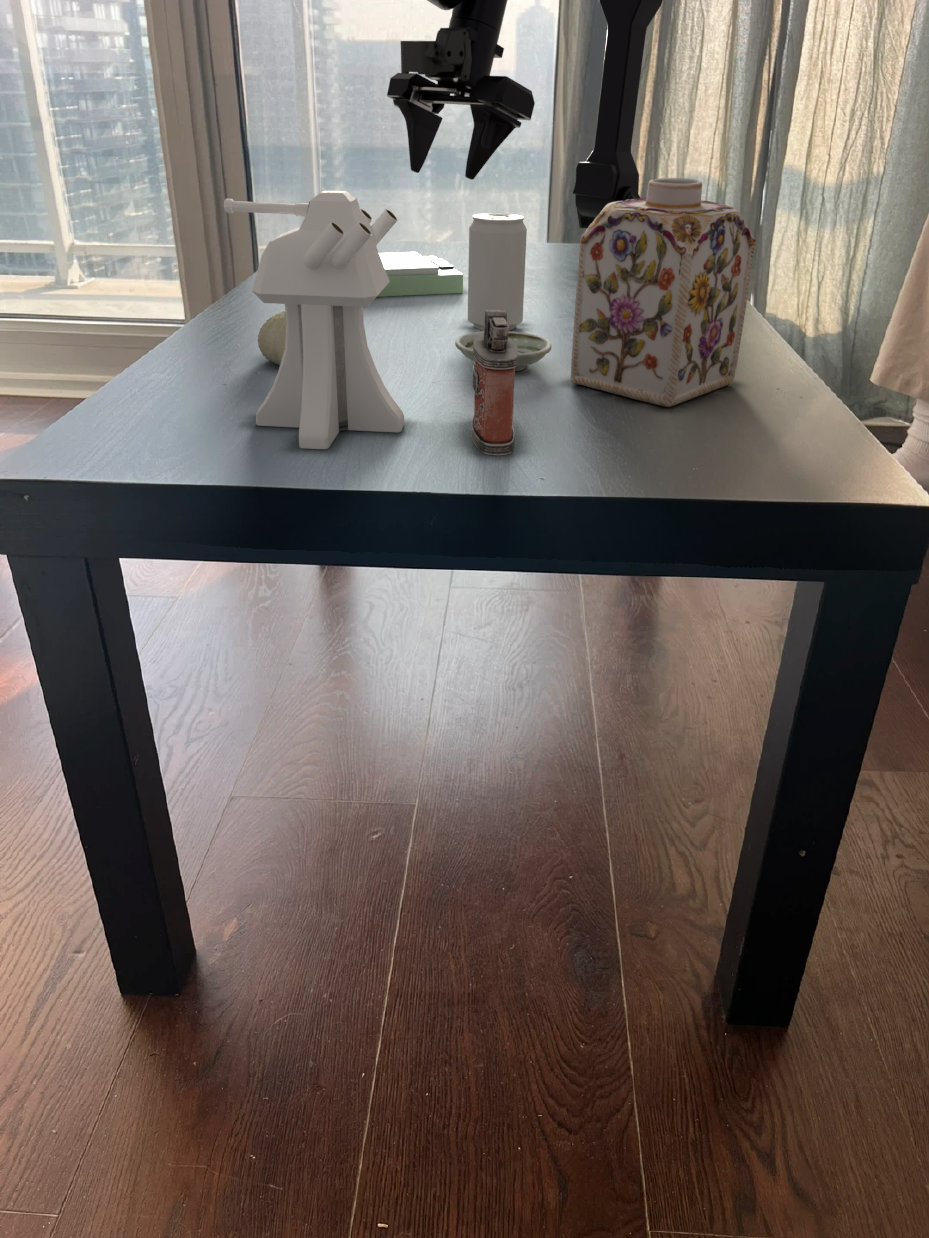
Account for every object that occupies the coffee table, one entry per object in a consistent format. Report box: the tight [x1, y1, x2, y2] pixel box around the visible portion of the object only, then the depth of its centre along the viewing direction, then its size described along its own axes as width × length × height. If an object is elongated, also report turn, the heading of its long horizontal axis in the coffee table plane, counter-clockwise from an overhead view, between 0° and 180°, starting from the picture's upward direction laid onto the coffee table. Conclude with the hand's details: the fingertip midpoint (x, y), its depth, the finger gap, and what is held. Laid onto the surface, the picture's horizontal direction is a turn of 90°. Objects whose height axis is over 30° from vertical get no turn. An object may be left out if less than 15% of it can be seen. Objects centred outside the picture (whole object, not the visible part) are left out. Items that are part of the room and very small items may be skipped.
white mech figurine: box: [223, 190, 405, 450], centre depth 77 cm, size 12×13×18 cm
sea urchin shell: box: [257, 310, 286, 366], centre depth 98 cm, size 9×8×8 cm
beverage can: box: [467, 212, 528, 331], centre depth 111 cm, size 6×6×12 cm
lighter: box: [470, 310, 518, 456], centre depth 77 cm, size 8×3×10 cm, turn 5°
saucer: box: [454, 330, 553, 372], centre depth 98 cm, size 10×10×2 cm
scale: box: [376, 251, 464, 298], centre depth 132 cm, size 16×14×3 cm
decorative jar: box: [570, 177, 756, 408], centre depth 89 cm, size 12×12×18 cm
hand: (441, 175), depth 114 cm, fingers open, 9 cm apart
